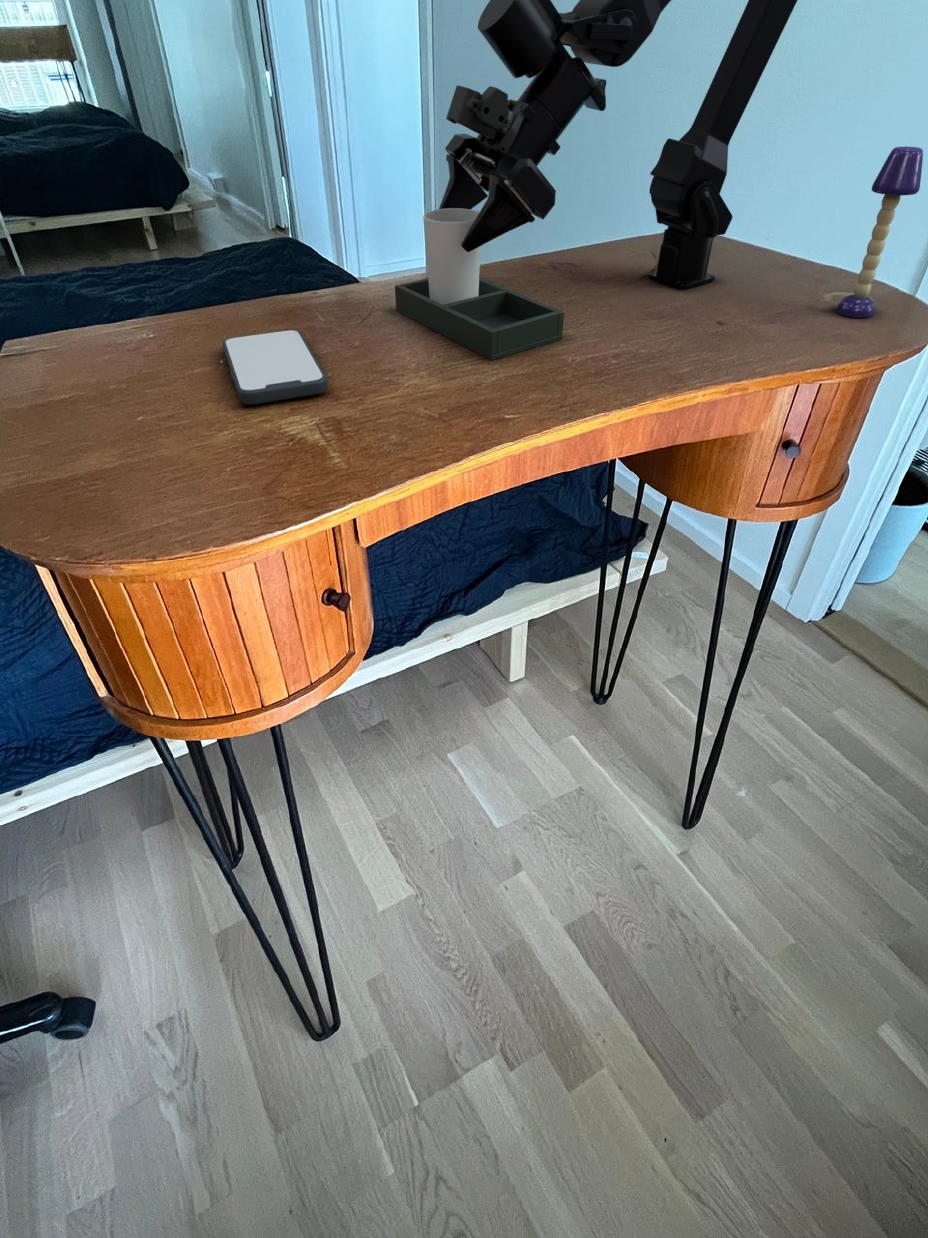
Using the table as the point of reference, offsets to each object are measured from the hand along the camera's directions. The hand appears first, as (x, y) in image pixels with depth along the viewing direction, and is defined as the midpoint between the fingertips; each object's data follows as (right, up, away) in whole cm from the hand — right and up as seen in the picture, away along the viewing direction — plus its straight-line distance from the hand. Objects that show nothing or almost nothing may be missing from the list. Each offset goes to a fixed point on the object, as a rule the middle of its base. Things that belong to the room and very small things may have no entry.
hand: (449, 238), depth 81 cm
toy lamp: (+49, -6, +5) cm, 50 cm away
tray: (+3, -9, +3) cm, 10 cm away
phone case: (-18, -18, -7) cm, 26 cm away
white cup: (0, -6, +5) cm, 8 cm away
